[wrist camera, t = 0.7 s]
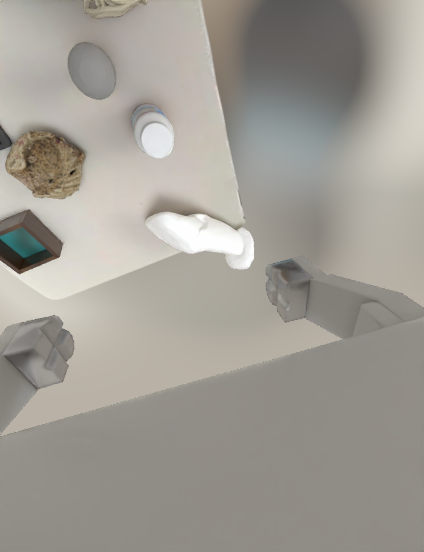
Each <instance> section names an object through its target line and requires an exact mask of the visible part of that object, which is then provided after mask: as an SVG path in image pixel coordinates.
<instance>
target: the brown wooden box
mask: <svg viewBox="0 0 424 552" xmlns="http://www.w3.org/2000/svg"><path fill="white" fill-rule="evenodd" d="M62 246H63V243H62V242H61V241H60V240H59V239H58V238H57V237H56V236H55V235H54V234H53V233H52V232H51V231H50V230H49V229H48V228H47V227H46V226H45V225H44V224H43V223H42V222H41V221H40V220H39V219H38V218H37V217H36V216H35V215H34V214H33V213H32V212H31V211H30V210H26V211H24V212H21V213H19V214H17V215H14V216H12V217H9V218H7V219H5V220H2V221H0V260H1V261H2V262H3V263H5V264H6V265H7V266H9V267H10V268H11V269H13V270H14V271H16V272H17V273H18V274H21V273H23V272H26V271H28V270H30V269H33V268H35V267H37V266H40V265H42V264H44V263H47V262H49V261H52V260H54V259H56V258H59V257H60V254H61V250H62Z"/></svg>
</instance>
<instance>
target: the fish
mask: <svg viewBox="0 0 424 552" xmlns="http://www.w3.org/2000/svg"><path fill="white" fill-rule="evenodd" d="M145 222H146V226H147V227H148V228H149V229H150V230H151V231H152V232H153V233H154V234H155V235H156V236H157V237H158V238H160V239H161V240H163V241H164V242H166V243H167V244H169V245H170V246H172V247H174V248H175V249H178V250H181V251H183V252H186V253H189V254H192V253H196V252H200V251H203V250H205V251H211V252H220V253H224V256H225V260H226V262H227V264H228V265H229V266H230V267H232V268H234V269H246V268H249V267H250V264H251V262H252V261H253V259H254V255H253V254H254V242H253V238H252V236H251V234H250V232H248V231H247V230H246V229H244V228H239V229H238V230H237V231H236V230H235V229H233V228H232V227H230V226H229V225H227V224H225V223H223V222H222V221H219V220H216V219H213V218H210V217H209V216H207V215H205V214H192V215H188V216H184V215H180V214H177V213H172V212H161V213H157V214H154V215H152V216H149V218H148V219H146V220H145Z"/></svg>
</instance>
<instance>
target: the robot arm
mask: <svg viewBox="0 0 424 552" xmlns="http://www.w3.org/2000/svg"><path fill="white" fill-rule="evenodd" d="M266 275H267V276H268V277H269V279H268V280H267V282H266V291H267V295H268V298H269V300H270V301H271V303H272V304H273V305H275V306H277V312H278V313H279V315H280V316H281V317H282V319H283V320H284V322H289V321H294V320H298V319H302V318H306V319H307V320H309V321H311V322H313V323H315V324H316V325H318V326H320V327H322V328H324V329H326V330H327V331H329V332H331V333H333V334H335V335H337V336H338V337H340V338H342V339H343V340H339V341H336V342H332V343H329V344H325V345H322V346H318V347H315V348H311V349H308V350H304V351H301V352H297V353H294V354H290V355H287V356H283V357H280V358H276V359H272V360H269V361H265V362H262V363H258V364H255V365H251V366H248V367H244V368H240V369H237V370H233V371H230V372H226V373H223V374H219V375H216V376H212V377H209V378H205V379H202V380H198V381H194V382H191V383H188V384H184V385H180V386H177V387H174V388H170V389H166V390H163V391H159V392H156V393H152V394H149V395H145V396H142V397H138V398H135V399H131V400H128V401H124V402H121V403H117V404H113V405H110V406H107V407H103V408H99V409H96V410H92V411H89V412H85V413H82V414H78V415H74V416H71V417H67V418H64V419H60V420H57V421H54V422H50V423H46V424H43V425H39V426H36V427H32V428H29V429H25V430H22V431H18V432H14V433H11V434H8V435H4V436H0V552H424V308H423V307H422V306H420V305H419V304H417V303H416V302H414V301H413V300H411V299H410V298H408V297H407V296H405V295H404V294H402V293H399V292H396V291H392V290H388V289H384V288H380V287H377V286H373V285H369V284H365V283H362V282H358V281H354V280H350V279H346V278H343V277H339V276H335V275H332V274H330V275H326V274H325V273H324V272H323V271H321V270H320V269H319V268H318V267H317V266H315V265H314V264H313V263H312V262H310V261H309V260H308V259H307V258H305V257H304V256H299V257H295V258H292V259H289V260H285V261H281V262H277V263H273V264H269V265H267V266H266ZM62 326H63V322H62V321H61V319H60V318H59V317H58V316H55V315H53V316H49V317H44V318H40V319H35V320H31V321H26V322H22V323H18V324H13V325H10V326H8V327H7V328H6V329H5V330H4V332H3V333H2V334H1V336H0V434H1V433H2V432H3V431H4V430H5V428H6V427H7V426H8V425H9V424H10V422H11V421H12V420H13V419H14V418H15V417H16V415H17V414H18V413H19V412H20V411H21V410H22V408H23V407H24V406H25V405H26V404H27V403H28V401H29V400H30V399H31V398H32V397H33V396H34V394H35V393H36V392H37V389H41V388H44V387H47V386H51V385H54V384H58V383H61V382H63V380H64V377H65V375H66V372H67V369H68V364H67V363H66V361H67V360H68V359H69V358H70V357H71V356H72V355H73V351H74V340H73V337H72V335H71V334H70V332H69V331H67V330H65V329H63V328H62Z"/></svg>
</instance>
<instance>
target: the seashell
mask: <svg viewBox="0 0 424 552" xmlns="http://www.w3.org/2000/svg"><path fill="white" fill-rule="evenodd" d="M84 160H85V155H84V154H83V152H81V151H80V150H79V149H78V148H75V147H74V146H72V145H71V144H69V143H68V142H67V141H65V139H64V138H63V137H58V136H56V134H54V133H50V132H46V131H41V132H37V131H33V132H32V131H29V132H28V133H26V134H24V135H22V136H20V137H19V139H18V141H17V142H15V143H14V145H13V147H12V148H11V151H10V153H9V154H8V156H7V160H6V164H5V166H6V170H7V172H8V173H9V174H11V175H12V176H13V177H15V178H16V179H18V180H19V181H20V182H22V183H23V184H24V185H26V186H27V188H28V189H30V190H32V191H33V196H34V197H39V198H44V197H49V198H54V199H65V198H66V197H67V196H71V195H72V194H73V193H74V192H75V191H77V190H78V191H79V186H80V183H81V176H82V173H81V166H82V163H83V162H84Z"/></svg>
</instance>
